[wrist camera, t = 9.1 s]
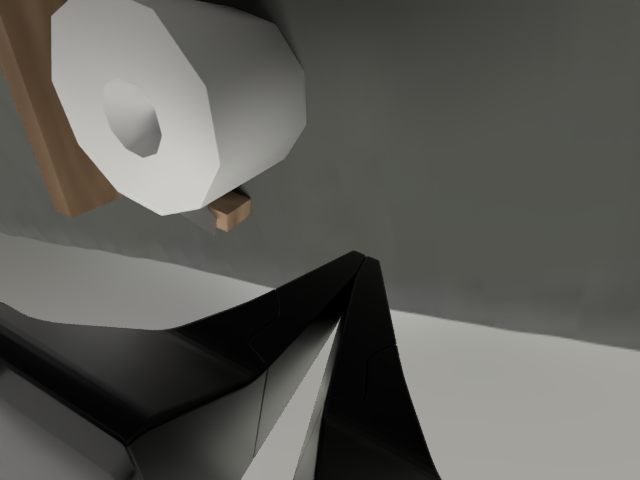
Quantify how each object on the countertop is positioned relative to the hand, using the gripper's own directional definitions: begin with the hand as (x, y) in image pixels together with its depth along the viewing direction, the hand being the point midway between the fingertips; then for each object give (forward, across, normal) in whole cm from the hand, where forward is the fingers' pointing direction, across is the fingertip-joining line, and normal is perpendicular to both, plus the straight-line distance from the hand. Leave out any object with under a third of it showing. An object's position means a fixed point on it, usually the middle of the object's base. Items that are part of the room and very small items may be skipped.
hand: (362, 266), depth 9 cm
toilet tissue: (+12, +12, +1) cm, 17 cm away
